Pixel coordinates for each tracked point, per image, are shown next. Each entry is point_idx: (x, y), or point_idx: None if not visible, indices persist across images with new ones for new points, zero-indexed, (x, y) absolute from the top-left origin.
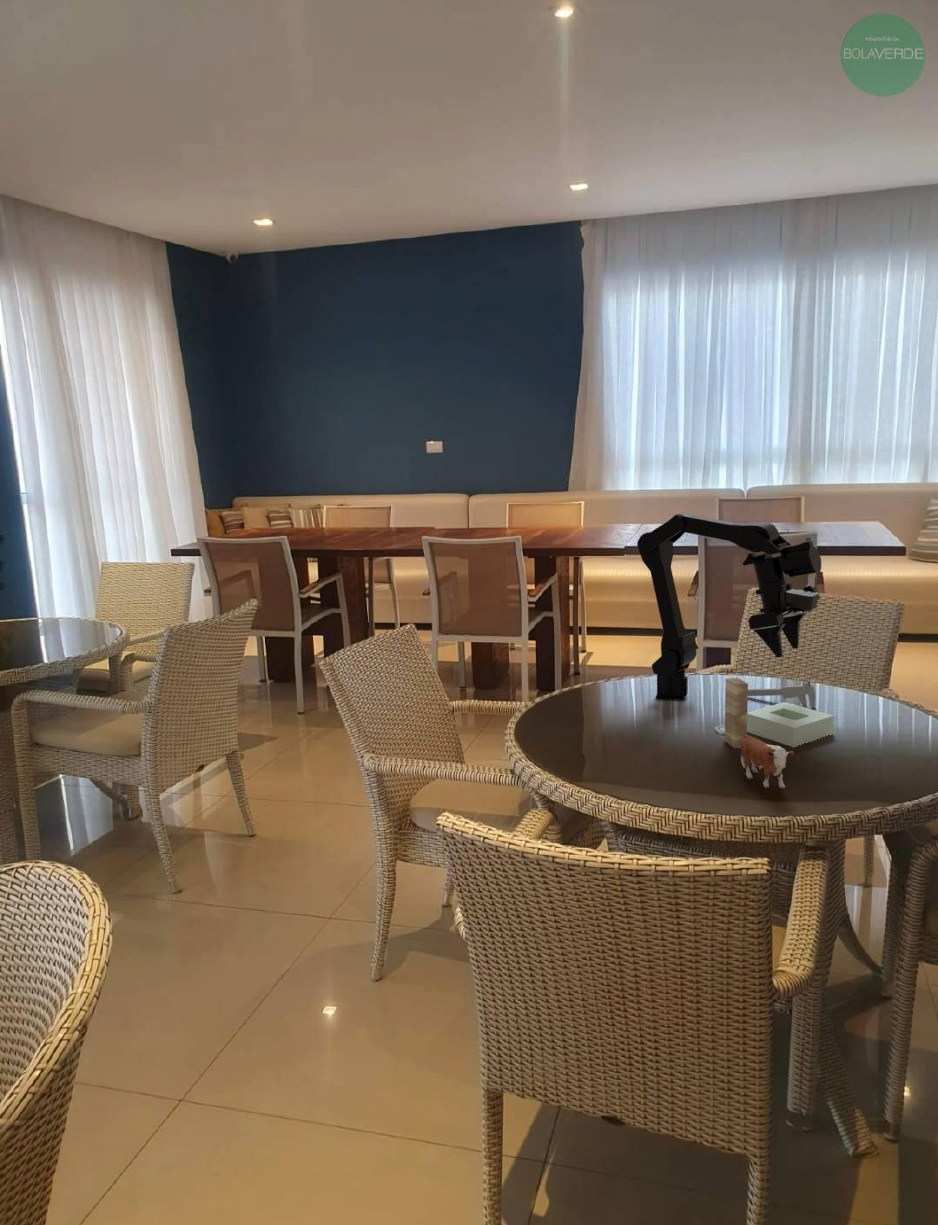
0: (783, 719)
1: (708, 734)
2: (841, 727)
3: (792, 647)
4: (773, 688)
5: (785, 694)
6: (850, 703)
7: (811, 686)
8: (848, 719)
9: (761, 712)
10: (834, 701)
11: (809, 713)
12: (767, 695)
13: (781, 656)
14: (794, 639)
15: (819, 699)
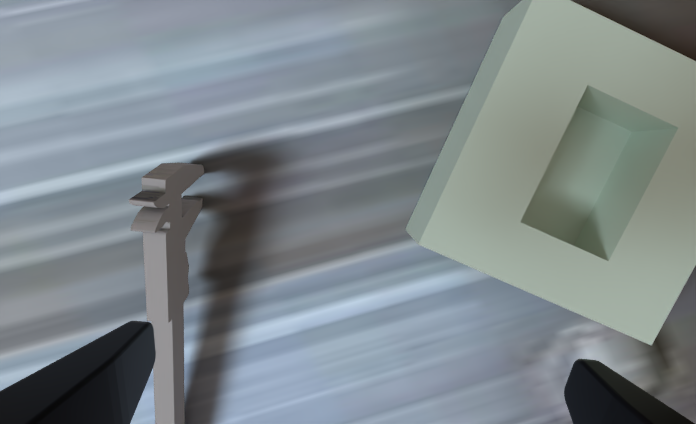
0: (684, 177)
1: None
2: (398, 6)
3: (150, 371)
4: None
5: (182, 292)
6: (50, 42)
7: (158, 182)
8: (280, 3)
9: (618, 289)
10: (56, 110)
11: (550, 96)
12: (183, 362)
13: (597, 363)
14: (100, 405)
15: (60, 173)
